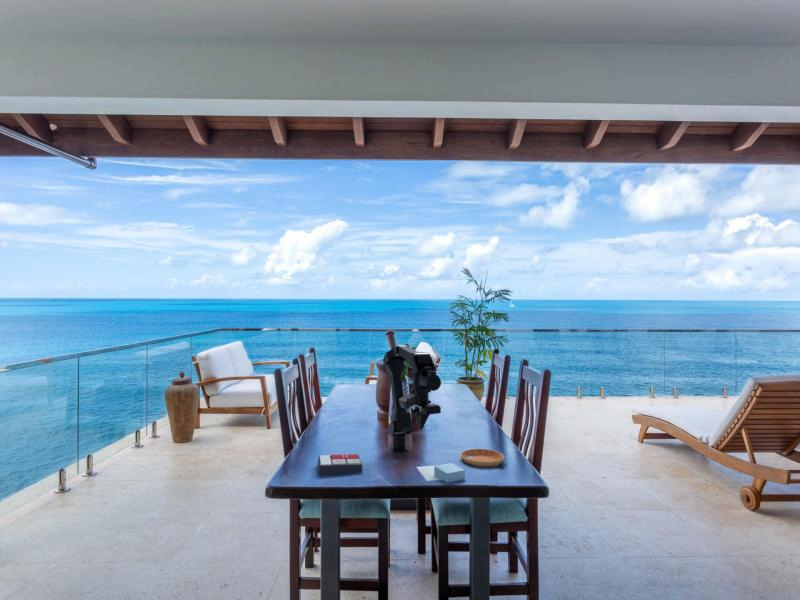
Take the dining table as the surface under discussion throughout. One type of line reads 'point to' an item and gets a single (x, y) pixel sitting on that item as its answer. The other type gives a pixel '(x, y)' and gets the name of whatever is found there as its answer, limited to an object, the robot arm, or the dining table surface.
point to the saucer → (482, 457)
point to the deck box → (449, 472)
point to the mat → (428, 473)
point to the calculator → (339, 464)
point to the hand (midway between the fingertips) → (421, 428)
